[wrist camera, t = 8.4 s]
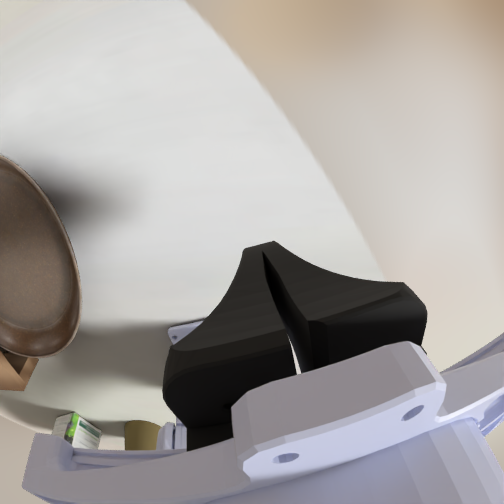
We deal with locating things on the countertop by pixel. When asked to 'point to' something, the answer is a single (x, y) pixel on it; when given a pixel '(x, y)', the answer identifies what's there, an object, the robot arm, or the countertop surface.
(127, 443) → the cork
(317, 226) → the countertop surface
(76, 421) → the syrup box
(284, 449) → the robot arm
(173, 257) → the countertop surface
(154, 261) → the countertop surface
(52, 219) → the plant saucer
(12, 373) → the walnut shelf
